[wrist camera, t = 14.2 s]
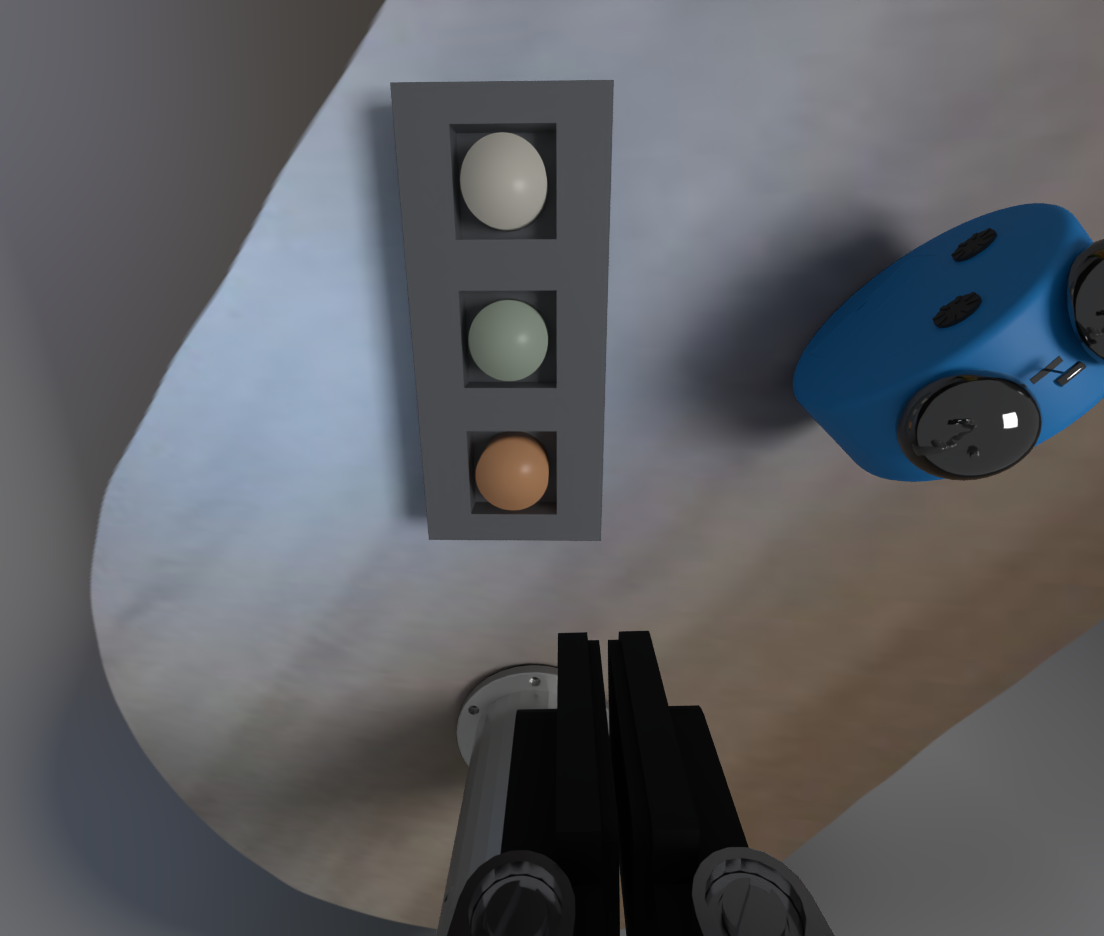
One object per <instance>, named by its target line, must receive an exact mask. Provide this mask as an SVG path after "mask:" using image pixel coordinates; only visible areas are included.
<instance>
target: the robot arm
mask: <svg viewBox="0 0 1104 936" xmlns="http://www.w3.org/2000/svg"><path fill="white" fill-rule="evenodd" d="M608 690H609V704H608V702H607V701H606V700H605V692H604V683H603V673H602V664H601V654H600V645H599V640H588V638H587V632H583V633H558V668H554V667H550V666H538V665H529V666H519V667H514V668H510V669H506V670H503V671H500V672H498V673H496V674H494V675H492V676H490V677H488V678H486V679H485V680H484V681H482V682H481V683H480V684H478V685H477V686H476V687H475V688H474V689H473V690H472V691H471V693H470V694H469V695H468V696H467V698H466V700H465V702H464V703H463V705H462V708H461V711H460V714H459V718H458V723H457V729H456V735H457V744H458V747H459V750H460V753H461V756H462V757H463V759H464V761H465V762H466V764H467V766H468V767H469V769H468V774H467V779H466V784H465V790H464V795H463V800H462V805H461V810H460V815H459V820H458V826H457V831H456V836H455V841H454V846H453V851H452V857H451V862H450V867H449V872H448V877H447V882H446V888H445V893H444V898H443V903H442V908H441V913H440V918H439V924H438V929H437V934H436V936H620V897H619V866H620V876H621V886H622V896H623V906H624V916H625V926H626V935H627V936H835V935H834V934H833V932H832V930H831V928H830V927H829V925H828V923H827V921H826V919H825V918H824V916H823V914H822V912H821V911H820V909H819V907H818V905H817V903H816V902H815V900H814V898H813V896H812V895H811V893H810V892H809V890H808V889H807V888H806V886H805V885H804V883H803V882H802V881H801V879H800V878H799V877H798V876H797V875H796V874H795V873H794V872H793V871H792V870H790V869H789V868H788V867H787V866H786V865H785V864H784V863H783V862H781V861H779V860H777V859H776V858H774V857H772V856H770V855H768V854H766V853H765V852H762V851H758V850H754V849H751V848H749V847H748V844H747V841H746V838H745V835H744V832H743V829H742V826H741V824H740V821H739V818H738V815H737V812H736V809H735V806H734V803H733V800H732V797H731V794H730V791H729V788H728V785H727V782H726V779H725V776H724V773H723V770H722V767H721V764H720V761H719V758H718V755H717V752H716V749H715V746H714V743H713V740H712V737H711V734H710V731H709V728H708V725H707V722H706V719H705V716H704V714H703V711H702V709H701V708H700V706H699V705H698V706H668V702H667V698H666V695H665V691H664V687H663V683H662V679H661V675H660V671H659V667H658V663H657V660H656V656H655V652H654V648H653V644H652V640H651V636H650V633H649V631H622V632H619V640H608Z"/></svg>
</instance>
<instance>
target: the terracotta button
mask: <svg viewBox="0 0 1104 936" xmlns="http://www.w3.org/2000/svg"><path fill="white" fill-rule="evenodd" d="M548 477H549V457H548V453H547V451H546V449H545V447H544V446H543V444H542V443H541V442H540V441H539V440H538V439H537V438H536V437H534V436H532V435H530V434H528V433H526V432H522V431H507V432H503V433H501V434H499V435H497V436H495V437H494V438H493V439H491V440H490V441H489V443H488V444H487V445H486V447H485V449H484V451H483V453H482V455H481V457H480V460H479V462H478V464H477V467H476V483H477V486H478V489H479V491H480V492H481V494H482V495H483V497H484V498H485V499H486V500H487V501H488V502H490V503H491V504H492V505H494V506H496V507H498V508H501V509H505V510H522V509H525V508H528V507H530V506H532V505H533V504H535V503H536V502H537V501H538V500H539V499H540V498H541V497H542V496H543V494H544V492H545V490H546V488H547V484H548Z"/></svg>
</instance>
